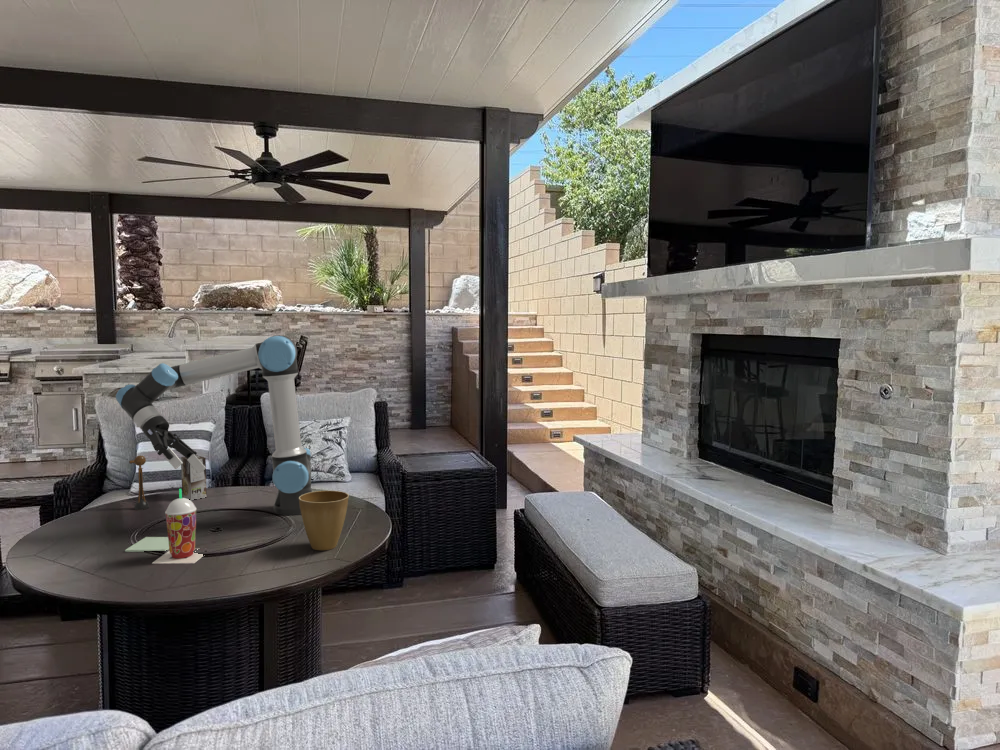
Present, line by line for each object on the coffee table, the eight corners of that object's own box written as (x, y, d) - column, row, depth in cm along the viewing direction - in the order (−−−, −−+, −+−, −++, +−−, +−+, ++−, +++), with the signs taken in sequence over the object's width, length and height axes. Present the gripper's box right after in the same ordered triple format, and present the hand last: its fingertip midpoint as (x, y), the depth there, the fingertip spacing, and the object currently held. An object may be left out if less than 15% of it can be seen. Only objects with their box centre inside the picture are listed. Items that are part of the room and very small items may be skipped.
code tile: (211, 549, 201) (211, 548, 201) (194, 563, 189) (194, 562, 189) (171, 549, 200) (171, 548, 200) (151, 563, 188) (151, 562, 188)
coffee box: (207, 497, 260) (206, 457, 259) (190, 500, 255) (189, 460, 254) (197, 493, 266) (196, 454, 265) (181, 496, 262) (180, 456, 260)
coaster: (183, 538, 210) (183, 536, 210) (165, 551, 198) (165, 549, 198) (145, 538, 210) (145, 537, 210) (125, 551, 198) (125, 549, 198)
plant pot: (331, 557, 194) (330, 504, 193) (289, 551, 199) (288, 499, 198) (358, 542, 208) (358, 492, 206) (319, 536, 213) (318, 488, 212)
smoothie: (173, 550, 198) (171, 485, 197) (202, 550, 199) (200, 485, 197) (161, 560, 190) (159, 492, 188) (191, 560, 191) (189, 492, 189)
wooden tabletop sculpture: (133, 511, 241) (130, 457, 239) (129, 508, 244) (127, 455, 243) (150, 508, 245) (148, 455, 243) (147, 505, 248) (145, 453, 247)
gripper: (165, 437, 225) (203, 480, 220) (118, 424, 201) (158, 472, 196) (182, 421, 226) (219, 464, 221) (136, 407, 202) (177, 454, 197)
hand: (191, 468), depth 209 cm, fingers open, 13 cm apart
